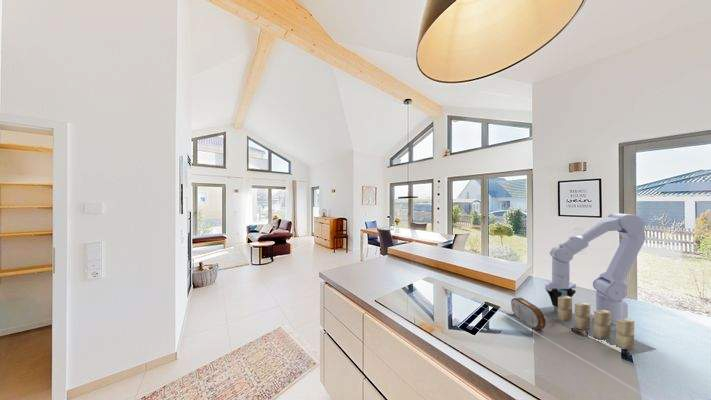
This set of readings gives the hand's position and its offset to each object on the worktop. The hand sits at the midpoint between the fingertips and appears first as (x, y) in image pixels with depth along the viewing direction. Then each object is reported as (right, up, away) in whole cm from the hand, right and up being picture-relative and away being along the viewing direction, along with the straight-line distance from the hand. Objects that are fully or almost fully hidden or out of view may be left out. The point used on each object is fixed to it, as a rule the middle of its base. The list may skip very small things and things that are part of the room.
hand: (560, 305), depth 101 cm
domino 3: (-3, -3, -13) cm, 14 cm away
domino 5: (-1, -3, -25) cm, 25 cm away
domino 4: (-2, -3, -19) cm, 19 cm away
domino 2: (-5, -3, -7) cm, 9 cm away
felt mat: (-1, -3, -12) cm, 12 cm away
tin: (-22, -3, -9) cm, 24 cm away
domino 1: (0, -2, 0) cm, 2 cm away
